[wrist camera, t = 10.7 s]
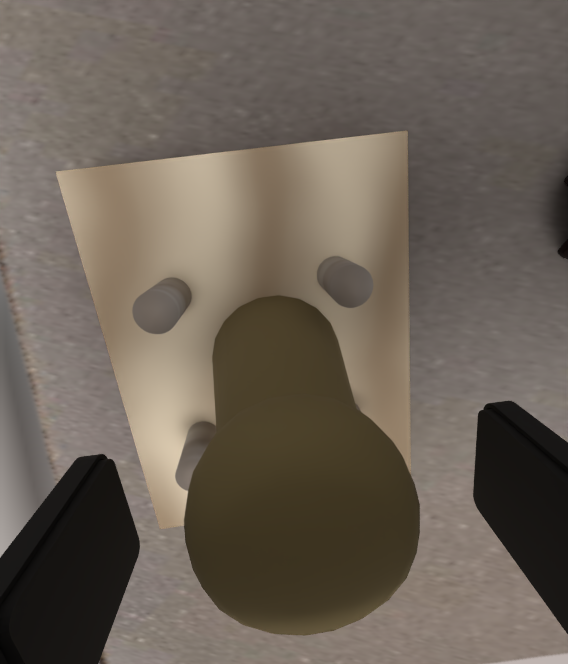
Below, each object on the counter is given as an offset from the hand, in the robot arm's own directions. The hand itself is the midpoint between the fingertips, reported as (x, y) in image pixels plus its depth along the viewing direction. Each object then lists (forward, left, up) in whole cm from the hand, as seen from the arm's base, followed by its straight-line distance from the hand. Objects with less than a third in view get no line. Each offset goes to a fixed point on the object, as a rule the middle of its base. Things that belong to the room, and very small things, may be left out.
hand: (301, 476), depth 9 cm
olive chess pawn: (0, 0, -9) cm, 9 cm away
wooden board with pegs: (+1, 0, -12) cm, 12 cm away
